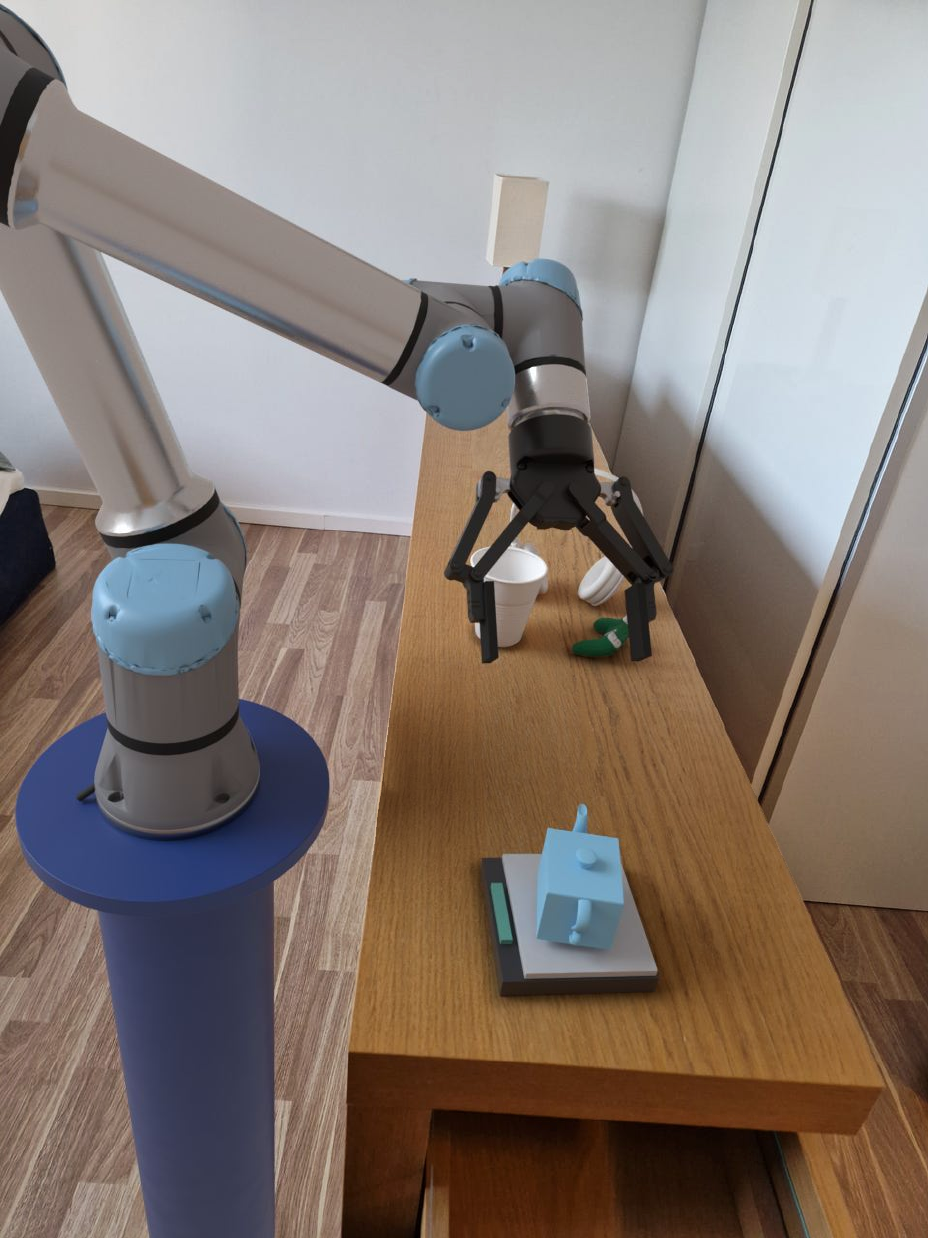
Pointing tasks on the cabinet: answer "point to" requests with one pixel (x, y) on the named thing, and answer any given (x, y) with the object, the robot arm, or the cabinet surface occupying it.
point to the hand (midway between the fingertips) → (567, 660)
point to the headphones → (601, 575)
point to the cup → (513, 590)
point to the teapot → (579, 887)
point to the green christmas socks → (604, 638)
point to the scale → (553, 963)
